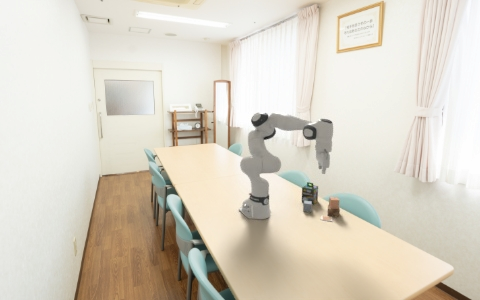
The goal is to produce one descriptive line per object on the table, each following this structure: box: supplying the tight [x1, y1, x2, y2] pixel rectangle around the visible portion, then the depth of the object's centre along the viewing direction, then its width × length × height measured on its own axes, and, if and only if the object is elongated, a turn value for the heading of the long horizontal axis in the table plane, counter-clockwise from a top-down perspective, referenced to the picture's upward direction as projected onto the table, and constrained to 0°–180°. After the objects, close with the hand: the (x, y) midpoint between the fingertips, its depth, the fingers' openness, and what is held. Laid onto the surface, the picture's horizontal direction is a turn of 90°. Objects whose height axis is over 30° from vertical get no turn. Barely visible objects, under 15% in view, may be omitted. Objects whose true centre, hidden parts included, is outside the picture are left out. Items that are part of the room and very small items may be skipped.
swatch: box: [320, 215, 333, 223], centre depth 167 cm, size 7×6×1 cm
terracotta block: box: [328, 196, 340, 209], centre depth 172 cm, size 5×5×6 cm
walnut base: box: [327, 204, 341, 218], centre depth 172 cm, size 7×7×5 cm
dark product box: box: [301, 181, 319, 205], centre depth 192 cm, size 9×9×15 cm
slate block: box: [302, 200, 313, 213], centre depth 178 cm, size 5×5×6 cm
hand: (321, 171), depth 153 cm, fingers open, 8 cm apart
